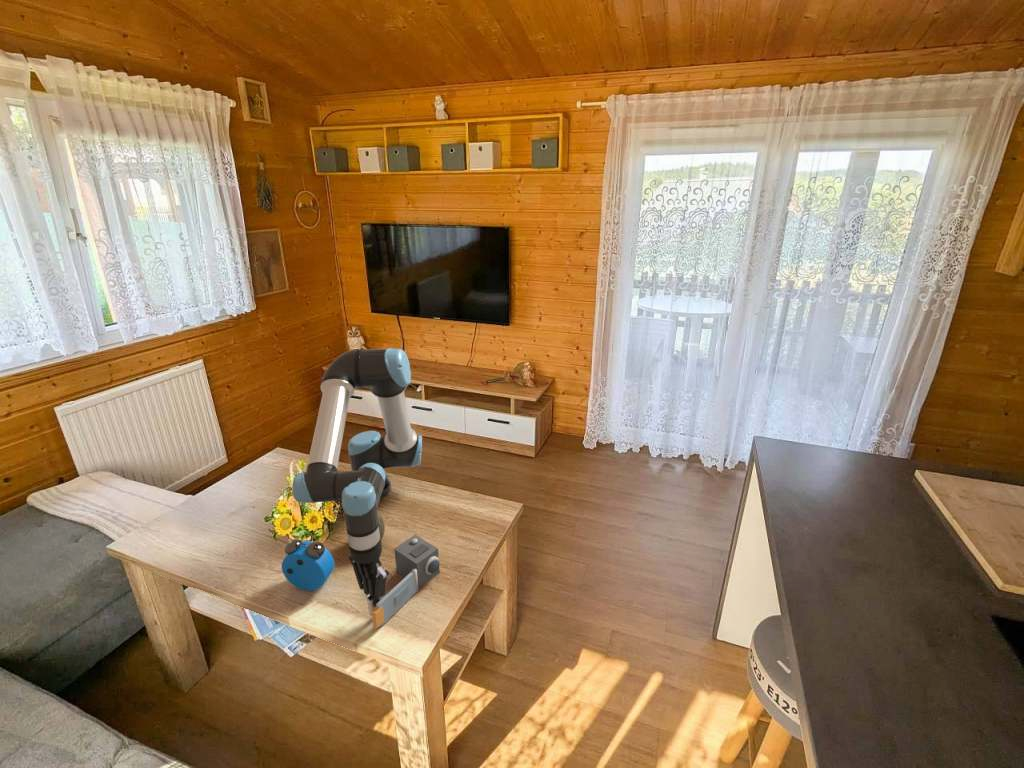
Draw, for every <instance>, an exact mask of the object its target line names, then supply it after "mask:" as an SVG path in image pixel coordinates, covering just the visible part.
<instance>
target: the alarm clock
mask: <svg viewBox="0 0 1024 768" xmlns="http://www.w3.org/2000/svg"><path fill="white" fill-rule="evenodd" d="M284 553H285V554H286V556H285V557H284V558H283V560H282V562H281V571H282V574H283V576H284V577H285V579H286V581H288V582H289V583H290V584H291V585H292V586H294V587H295V588H298V589H299V590H303V591H307V592H308V591H309V592H311V591H312V592H313V591H317V590H319V589H321V588H322V587H323V585H324V584H325V583H326V582H327V581H328V579H329V577H330V576H331V574H332V573H334V572H333V571H334V569H335V560H334V557H333V555H332V554H331V552H330V551H329V549H327V548H326V547H325V546H324V544H323V543H322V542H320V541H311V540H305V541H302V540H301V539H299V538H295V539H291V540H288V541H287V543H286V545H285V547H284Z"/></svg>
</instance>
